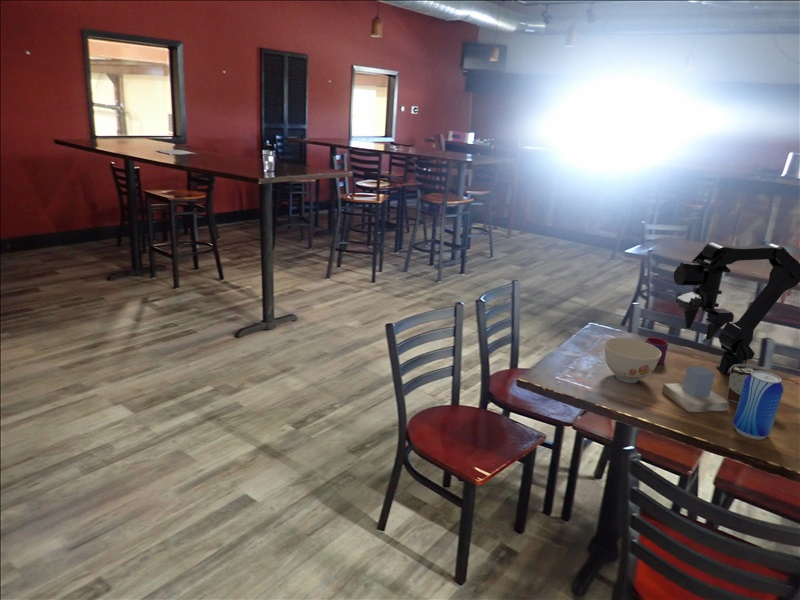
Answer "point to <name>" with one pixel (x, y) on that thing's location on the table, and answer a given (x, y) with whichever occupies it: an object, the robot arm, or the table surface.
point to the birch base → (694, 399)
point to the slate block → (698, 381)
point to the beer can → (758, 405)
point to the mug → (659, 347)
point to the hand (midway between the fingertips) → (697, 333)
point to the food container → (739, 379)
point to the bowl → (631, 358)
